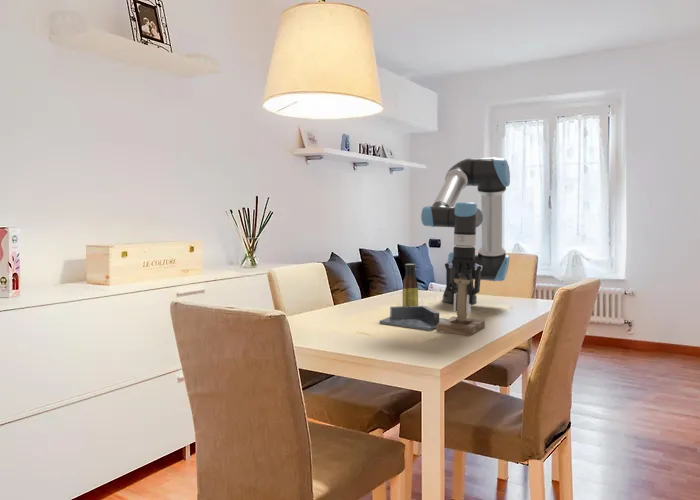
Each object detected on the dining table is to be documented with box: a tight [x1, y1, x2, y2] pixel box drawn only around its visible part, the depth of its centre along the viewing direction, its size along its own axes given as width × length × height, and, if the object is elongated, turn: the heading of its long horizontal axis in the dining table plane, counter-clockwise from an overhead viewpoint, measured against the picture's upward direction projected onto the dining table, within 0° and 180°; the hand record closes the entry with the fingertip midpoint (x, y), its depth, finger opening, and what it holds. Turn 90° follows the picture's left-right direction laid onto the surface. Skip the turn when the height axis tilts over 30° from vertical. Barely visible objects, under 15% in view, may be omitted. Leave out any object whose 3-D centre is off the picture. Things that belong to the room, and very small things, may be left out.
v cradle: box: [379, 305, 448, 331], centre depth 212 cm, size 18×20×5 cm
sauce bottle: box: [402, 263, 419, 306], centre depth 229 cm, size 7×6×20 cm
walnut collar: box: [436, 316, 486, 337], centre depth 203 cm, size 16×12×2 cm
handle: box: [454, 278, 472, 321], centre depth 202 cm, size 5×6×15 cm
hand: (462, 311), depth 203 cm, fingers closed on handle, 4 cm apart
